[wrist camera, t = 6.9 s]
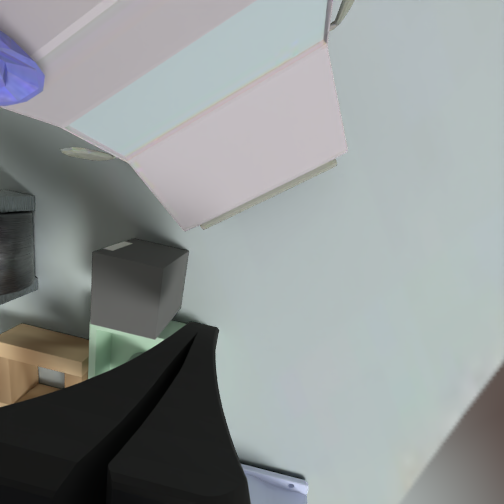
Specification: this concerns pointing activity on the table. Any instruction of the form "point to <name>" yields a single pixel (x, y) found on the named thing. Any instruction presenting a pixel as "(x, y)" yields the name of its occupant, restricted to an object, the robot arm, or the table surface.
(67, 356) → the socket block
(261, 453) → the table surface
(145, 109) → the toy vehicle
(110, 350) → the tray
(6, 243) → the trolley wheel
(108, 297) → the block
